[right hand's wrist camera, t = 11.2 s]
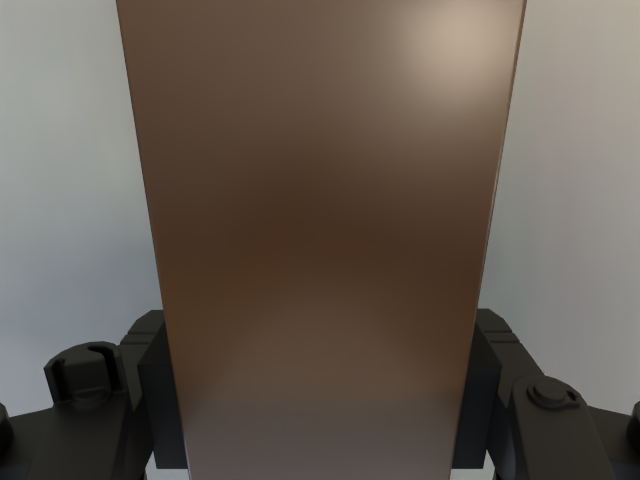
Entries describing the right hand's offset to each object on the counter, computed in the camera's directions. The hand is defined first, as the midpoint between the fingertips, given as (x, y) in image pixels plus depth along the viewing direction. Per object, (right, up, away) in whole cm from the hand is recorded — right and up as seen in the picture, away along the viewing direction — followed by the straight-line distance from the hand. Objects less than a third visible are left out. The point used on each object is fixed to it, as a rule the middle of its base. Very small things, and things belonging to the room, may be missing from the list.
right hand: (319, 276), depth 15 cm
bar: (0, +27, -10) cm, 29 cm away
